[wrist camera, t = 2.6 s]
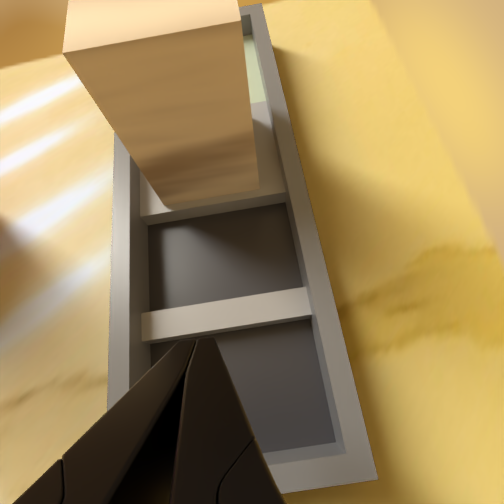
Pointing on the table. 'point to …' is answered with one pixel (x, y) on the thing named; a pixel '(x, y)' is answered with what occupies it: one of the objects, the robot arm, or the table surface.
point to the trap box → (243, 294)
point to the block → (170, 89)
